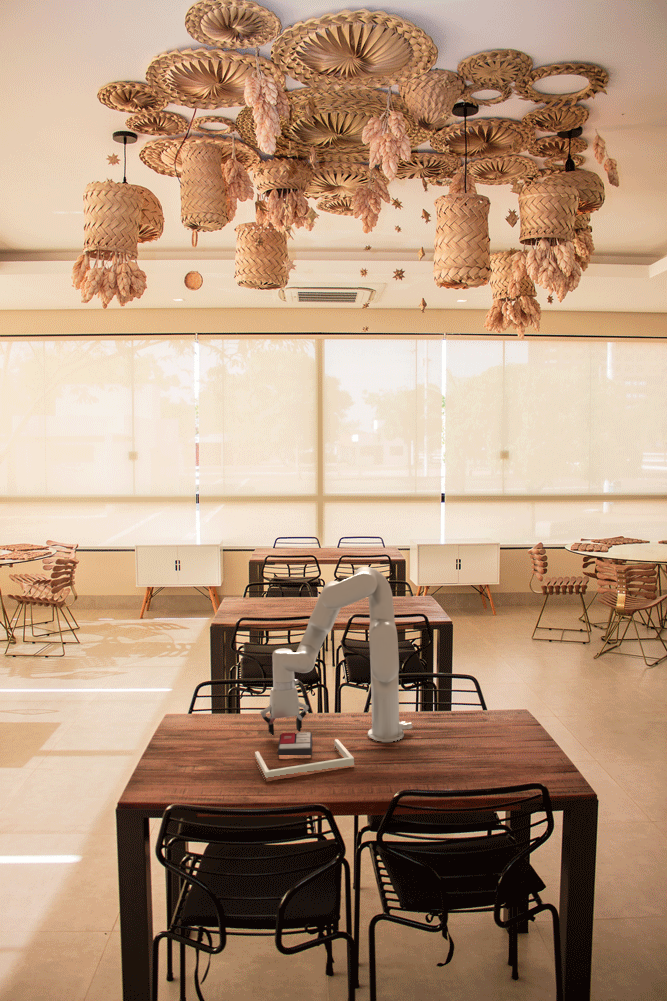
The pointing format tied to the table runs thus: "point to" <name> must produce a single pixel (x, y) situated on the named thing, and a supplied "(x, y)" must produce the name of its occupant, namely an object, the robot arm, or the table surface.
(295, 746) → the calculator
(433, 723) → the table surface
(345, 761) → the slot
